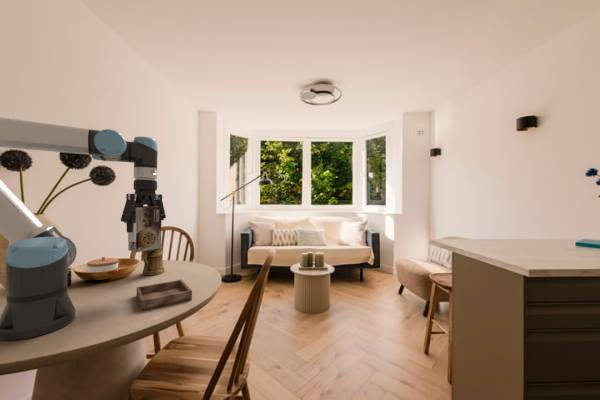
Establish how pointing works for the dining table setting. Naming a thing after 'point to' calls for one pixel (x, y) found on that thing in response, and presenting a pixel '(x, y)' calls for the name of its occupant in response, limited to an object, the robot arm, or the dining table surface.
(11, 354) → the dining table surface
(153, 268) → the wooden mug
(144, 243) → the coffee box
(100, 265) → the lidded jar
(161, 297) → the walnut tray
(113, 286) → the dining table surface
